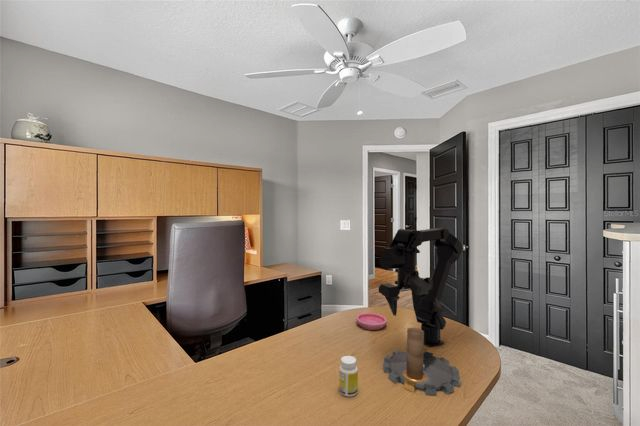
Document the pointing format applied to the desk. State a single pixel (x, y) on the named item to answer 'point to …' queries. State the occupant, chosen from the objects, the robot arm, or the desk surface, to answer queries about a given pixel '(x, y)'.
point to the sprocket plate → (434, 373)
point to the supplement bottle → (348, 376)
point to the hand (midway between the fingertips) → (405, 313)
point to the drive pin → (415, 353)
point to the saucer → (371, 321)
